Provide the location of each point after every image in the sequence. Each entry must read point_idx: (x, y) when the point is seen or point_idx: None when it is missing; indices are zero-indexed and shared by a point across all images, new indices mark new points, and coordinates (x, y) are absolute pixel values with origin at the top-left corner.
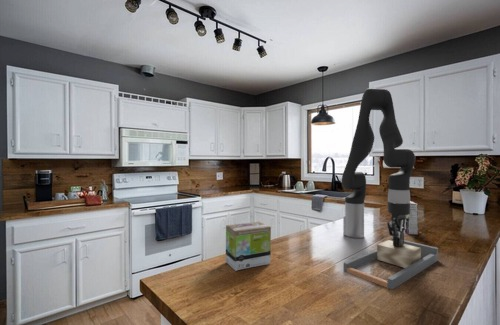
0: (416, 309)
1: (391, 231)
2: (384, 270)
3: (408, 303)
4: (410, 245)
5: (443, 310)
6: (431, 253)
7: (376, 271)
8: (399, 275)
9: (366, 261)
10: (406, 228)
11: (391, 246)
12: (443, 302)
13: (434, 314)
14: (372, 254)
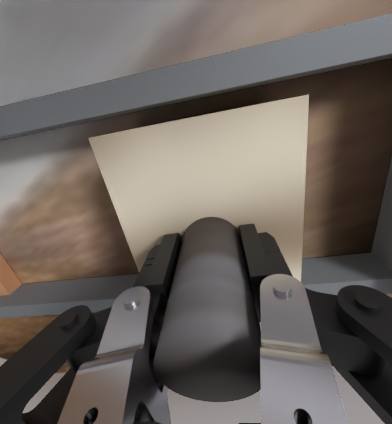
0: (17, 345)
1: (48, 369)
2: (84, 216)
3: (16, 332)
4: (296, 272)
5: (65, 364)
6: (383, 280)
7: (46, 207)
8: (35, 315)
9: (46, 129)
10: (380, 416)
11: (155, 225)
12: None
13: None
14: (90, 118)
